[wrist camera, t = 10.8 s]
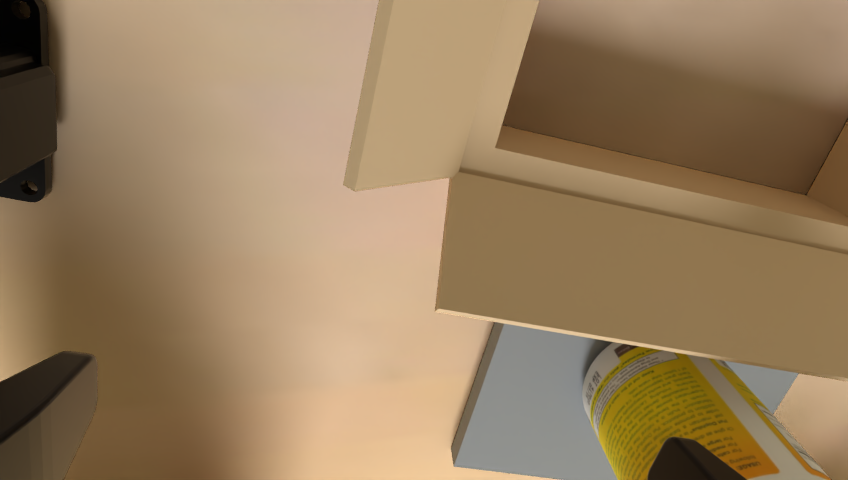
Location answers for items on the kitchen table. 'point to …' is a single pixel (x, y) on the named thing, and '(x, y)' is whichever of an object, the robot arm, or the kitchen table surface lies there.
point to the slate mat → (552, 406)
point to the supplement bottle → (685, 414)
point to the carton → (594, 210)
